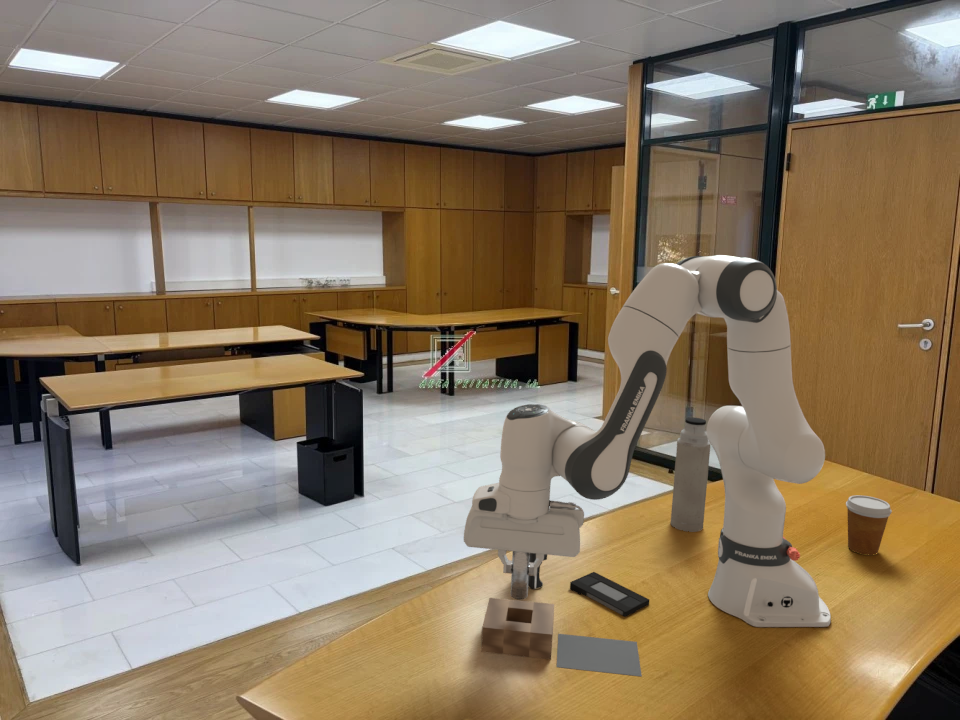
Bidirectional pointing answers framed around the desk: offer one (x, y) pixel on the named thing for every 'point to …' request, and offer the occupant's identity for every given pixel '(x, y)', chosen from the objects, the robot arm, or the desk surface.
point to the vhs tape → (609, 593)
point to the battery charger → (535, 580)
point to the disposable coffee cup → (866, 523)
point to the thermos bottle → (690, 476)
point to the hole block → (518, 628)
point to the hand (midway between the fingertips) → (520, 573)
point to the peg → (520, 575)
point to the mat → (598, 655)
